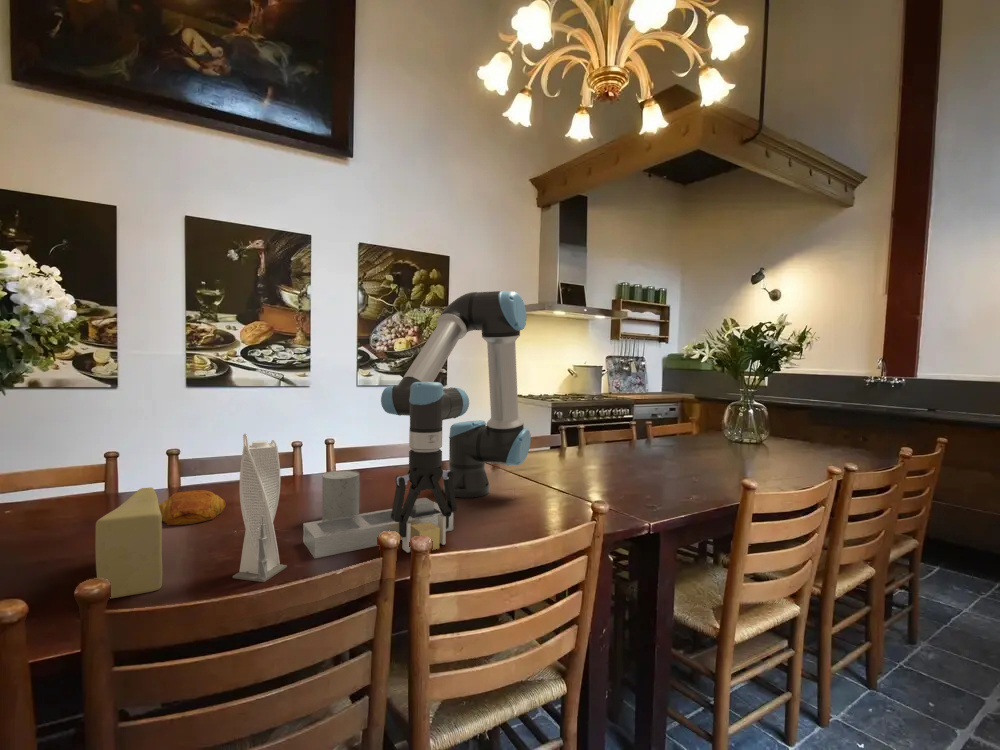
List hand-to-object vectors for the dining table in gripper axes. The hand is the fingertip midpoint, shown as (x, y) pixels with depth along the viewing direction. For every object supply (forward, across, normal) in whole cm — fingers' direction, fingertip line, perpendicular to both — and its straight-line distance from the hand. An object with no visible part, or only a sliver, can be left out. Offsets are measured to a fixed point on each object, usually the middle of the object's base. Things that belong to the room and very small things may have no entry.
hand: (424, 546), depth 114 cm
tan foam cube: (0, 0, 0) cm, 0 cm away
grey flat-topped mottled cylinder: (+1, -11, +29) cm, 31 cm away
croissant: (+1, -44, +51) cm, 68 cm away
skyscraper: (0, -34, +6) cm, 34 cm away
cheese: (+1, -54, +18) cm, 57 cm away
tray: (0, -6, +12) cm, 13 cm away
